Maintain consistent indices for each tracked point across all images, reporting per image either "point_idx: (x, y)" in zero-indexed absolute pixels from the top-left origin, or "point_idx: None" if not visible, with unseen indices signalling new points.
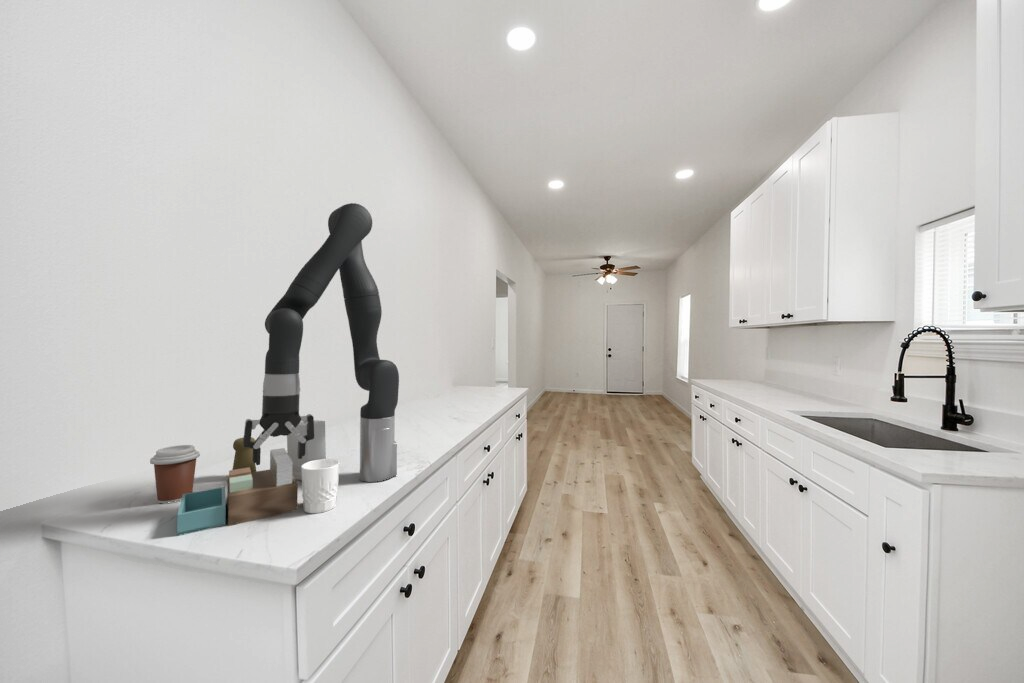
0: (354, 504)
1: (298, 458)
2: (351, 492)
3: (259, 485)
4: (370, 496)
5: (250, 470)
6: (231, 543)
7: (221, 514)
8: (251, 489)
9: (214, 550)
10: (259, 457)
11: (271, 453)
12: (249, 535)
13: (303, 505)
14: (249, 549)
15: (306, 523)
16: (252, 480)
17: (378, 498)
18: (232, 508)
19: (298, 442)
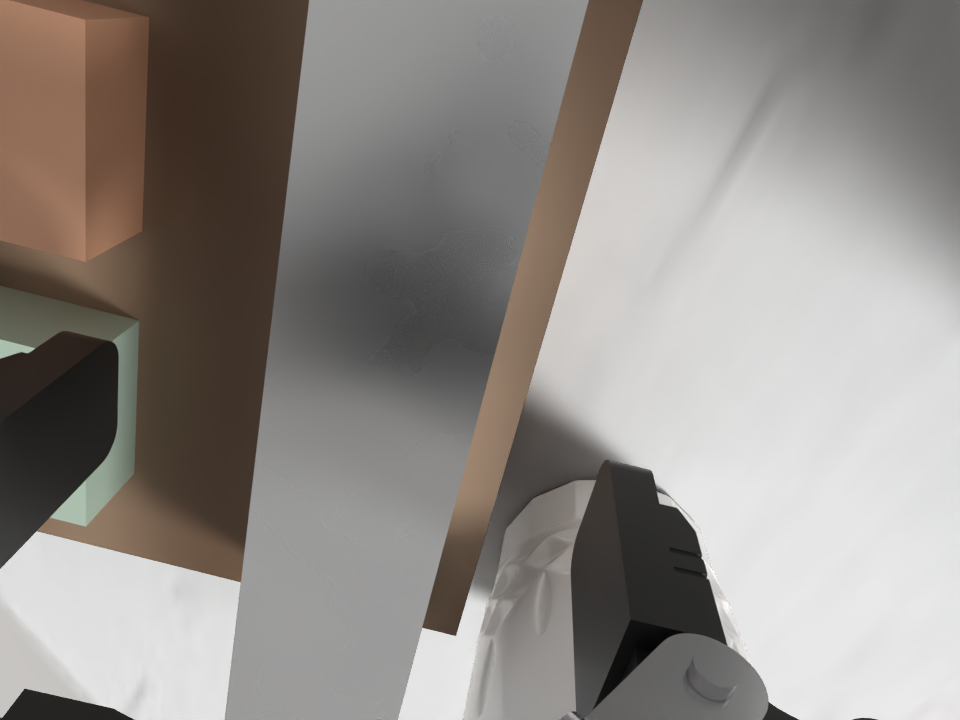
0: (764, 674)
1: (581, 523)
2: (911, 503)
3: (192, 448)
4: (923, 654)
5: (85, 196)
6: (107, 602)
7: None
8: (124, 490)
9: (42, 609)
10: (43, 512)
11: (293, 181)
12: (185, 590)
13: (501, 553)
14: (169, 702)
15: (443, 676)
16: (91, 518)
17: (923, 711)
18: None
19: (626, 643)
